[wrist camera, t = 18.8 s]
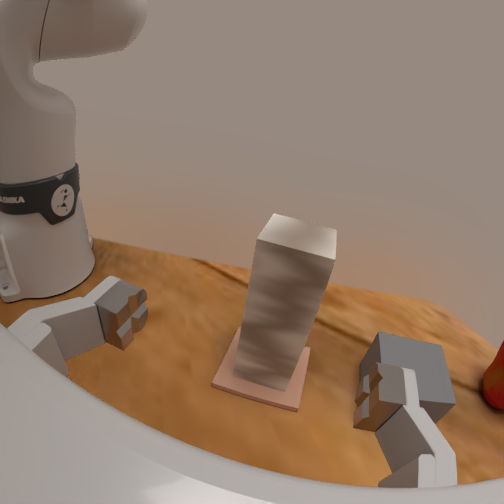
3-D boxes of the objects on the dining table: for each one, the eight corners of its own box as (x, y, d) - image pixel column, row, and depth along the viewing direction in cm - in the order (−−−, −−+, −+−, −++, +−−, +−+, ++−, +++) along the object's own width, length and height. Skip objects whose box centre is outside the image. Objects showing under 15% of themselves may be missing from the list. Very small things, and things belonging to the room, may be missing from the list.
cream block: (232, 376, 25) (257, 238, 18) (248, 340, 29) (273, 213, 22) (285, 391, 24) (335, 259, 17) (294, 354, 28) (336, 230, 22)
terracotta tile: (211, 386, 24) (211, 382, 24) (238, 331, 31) (238, 327, 31) (296, 411, 23) (298, 408, 23) (309, 351, 30) (310, 347, 29)
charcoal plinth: (358, 424, 22) (383, 394, 19) (360, 363, 29) (378, 331, 26) (426, 431, 20) (456, 403, 18) (419, 375, 27) (441, 345, 25)
